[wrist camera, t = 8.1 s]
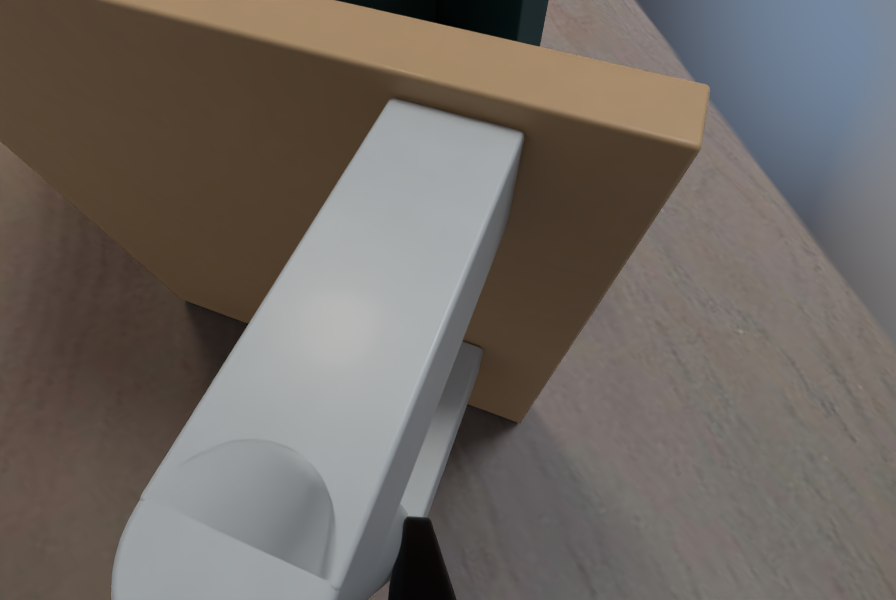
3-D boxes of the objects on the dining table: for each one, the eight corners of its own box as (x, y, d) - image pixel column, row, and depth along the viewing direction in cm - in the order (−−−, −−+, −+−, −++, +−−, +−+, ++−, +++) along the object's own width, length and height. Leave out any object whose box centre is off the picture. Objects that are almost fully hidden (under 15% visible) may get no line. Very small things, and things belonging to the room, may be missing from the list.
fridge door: (468, 599, 13) (578, 959, 2) (85, 430, 15) (-859, 166, 4) (528, 396, 16) (713, 83, 5) (195, 278, 18) (-204, -125, 7)
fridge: (511, 202, 20) (592, -230, 9) (190, 274, 18) (-230, -145, 7) (448, 60, 24) (450, -348, 13) (186, 108, 22) (-74, -314, 11)
